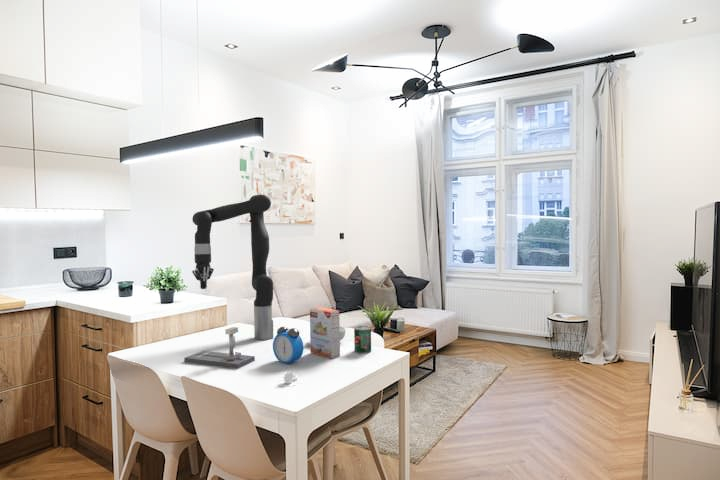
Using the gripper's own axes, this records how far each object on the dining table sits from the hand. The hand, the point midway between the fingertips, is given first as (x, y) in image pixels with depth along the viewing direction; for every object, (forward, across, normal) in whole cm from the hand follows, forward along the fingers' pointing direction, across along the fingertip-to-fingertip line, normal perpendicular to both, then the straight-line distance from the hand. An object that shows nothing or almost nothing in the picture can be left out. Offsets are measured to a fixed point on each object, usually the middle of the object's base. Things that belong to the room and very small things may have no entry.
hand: (203, 288), depth 220 cm
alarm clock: (+29, -6, -50) cm, 58 cm away
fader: (+27, -16, -28) cm, 42 cm away
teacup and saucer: (+30, -27, -66) cm, 78 cm away
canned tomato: (+29, +20, -74) cm, 82 cm away
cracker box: (+29, +9, -60) cm, 67 cm away
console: (+29, -16, -21) cm, 39 cm away
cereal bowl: (+29, +30, -52) cm, 67 cm away
